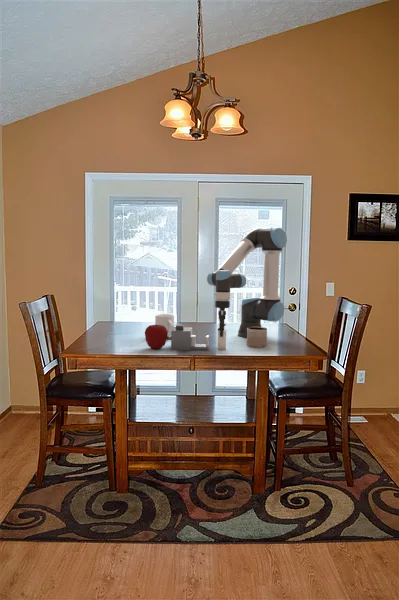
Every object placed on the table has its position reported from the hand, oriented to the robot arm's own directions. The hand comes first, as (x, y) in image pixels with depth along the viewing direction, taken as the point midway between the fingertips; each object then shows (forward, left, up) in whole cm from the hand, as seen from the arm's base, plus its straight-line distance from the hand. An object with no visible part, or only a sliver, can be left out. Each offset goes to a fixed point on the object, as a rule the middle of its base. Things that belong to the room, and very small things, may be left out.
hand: (221, 340), depth 250 cm
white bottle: (0, 0, -5) cm, 5 cm away
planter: (-19, -11, -5) cm, 23 cm away
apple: (+34, +4, -5) cm, 34 cm away
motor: (+18, 0, -4) cm, 18 cm away
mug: (+33, -27, -5) cm, 43 cm away
